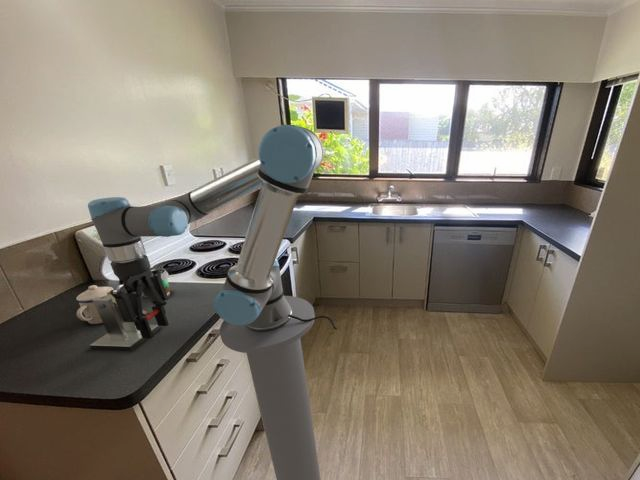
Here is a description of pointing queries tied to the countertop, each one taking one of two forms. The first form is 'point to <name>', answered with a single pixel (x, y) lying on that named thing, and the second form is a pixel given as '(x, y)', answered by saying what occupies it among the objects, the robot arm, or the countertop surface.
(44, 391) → the countertop surface
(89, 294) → the teacup with lid
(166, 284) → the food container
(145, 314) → the lever
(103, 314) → the bracket
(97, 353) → the countertop surface
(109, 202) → the robot arm
